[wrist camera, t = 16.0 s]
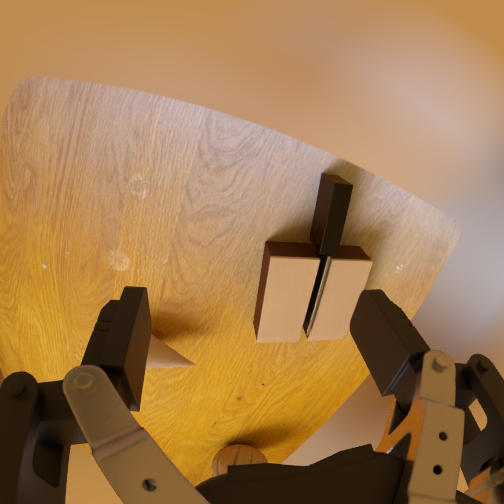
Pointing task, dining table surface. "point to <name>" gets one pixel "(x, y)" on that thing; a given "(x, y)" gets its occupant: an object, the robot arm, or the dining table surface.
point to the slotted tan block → (307, 292)
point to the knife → (327, 232)
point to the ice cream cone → (164, 356)
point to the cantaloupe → (235, 458)
